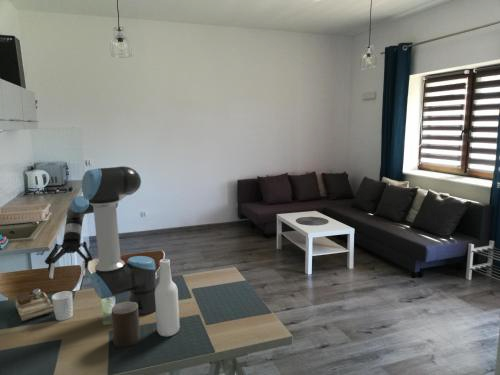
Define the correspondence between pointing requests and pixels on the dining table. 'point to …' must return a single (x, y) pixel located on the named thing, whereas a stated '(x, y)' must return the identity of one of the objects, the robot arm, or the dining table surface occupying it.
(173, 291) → the alcohol
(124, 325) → the pillar candle
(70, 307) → the white cup
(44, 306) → the wooden tray
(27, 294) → the walnut block
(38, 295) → the metal stub
